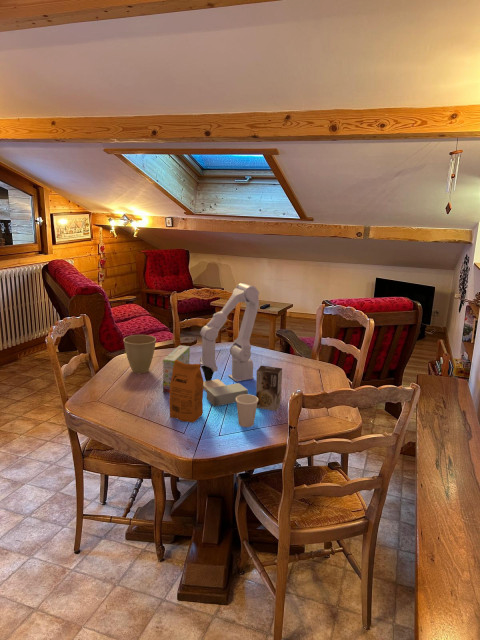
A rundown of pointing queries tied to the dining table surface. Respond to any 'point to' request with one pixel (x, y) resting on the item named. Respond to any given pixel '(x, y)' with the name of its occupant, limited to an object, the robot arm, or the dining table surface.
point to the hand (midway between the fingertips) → (208, 381)
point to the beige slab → (225, 394)
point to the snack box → (178, 354)
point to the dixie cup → (246, 409)
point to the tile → (212, 384)
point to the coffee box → (268, 387)
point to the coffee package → (186, 392)
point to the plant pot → (140, 352)
